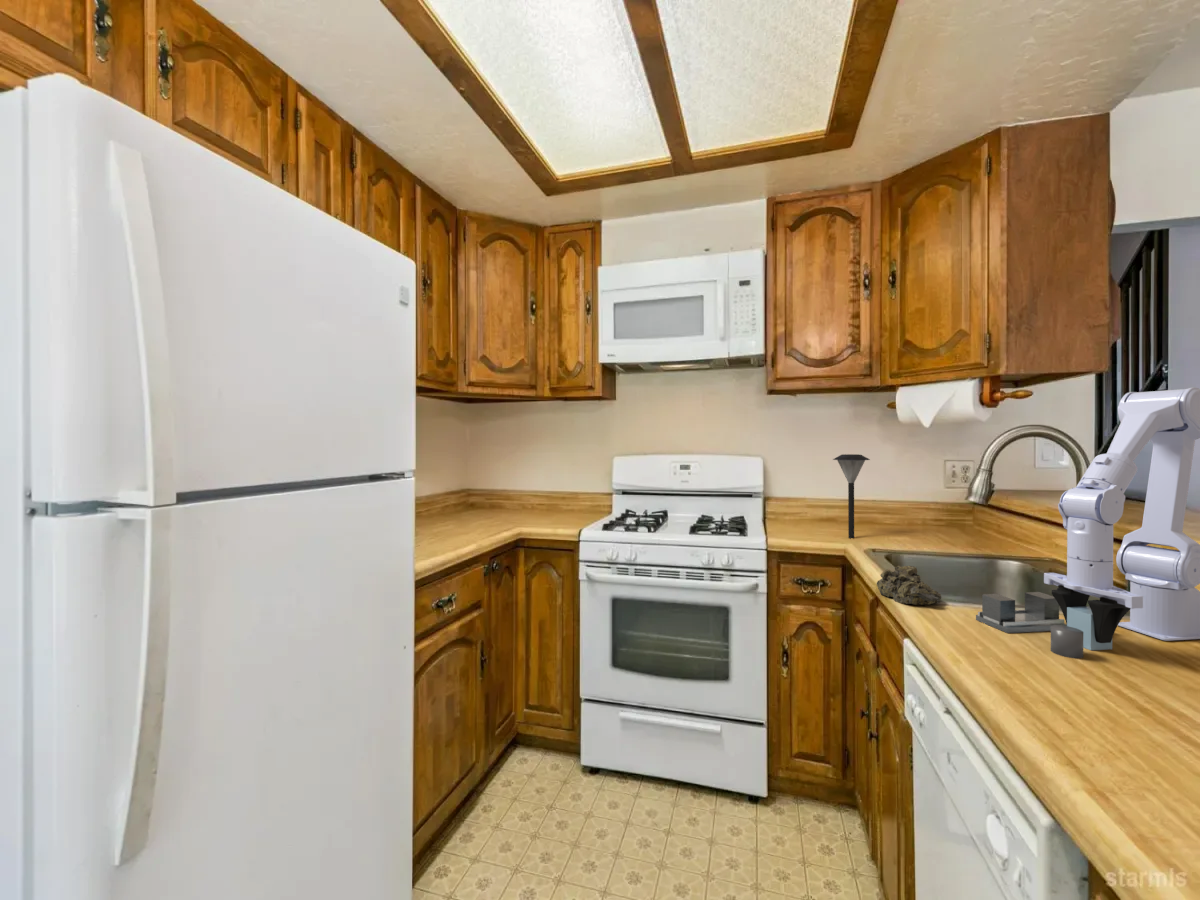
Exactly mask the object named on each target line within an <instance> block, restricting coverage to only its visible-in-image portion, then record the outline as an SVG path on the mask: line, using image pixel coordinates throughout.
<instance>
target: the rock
mask: <svg viewBox="0 0 1200 900" xmlns="http://www.w3.org/2000/svg"><path fill="white" fill-rule="evenodd" d="M918 572H919V571H918V569H917V566H913V565H903V566H901V565H897V566H894V571H892V570H890V569H889V568H888V569H885V570H883V571H882V572H881V574H879V575H880V577H881V579H879V580H877V581H876V586H877V588H878V591H879V593H880V595H881V596H884V597H885V596H886V597H887V598H892V600H894V601H895V602H896V603H898V604H904V605H905V604H906V605H908V604H909V605H913V606H917V605H921V606H922V605H932V604H937V603H940V602H941V598H942V594H941V593H939V592H938V591H937V590H934V589H932V588H931V587H930V586H929V585H928V584H927V583H925V582H924V581H921V576H920V575H919V574H918Z"/></svg>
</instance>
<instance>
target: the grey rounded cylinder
mask: <svg viewBox="0 0 1200 900" xmlns="http://www.w3.org/2000/svg"><path fill="white" fill-rule="evenodd" d="M1050 652H1052V653H1053V654H1055V655H1057V656H1060V657H1064V658H1069V659H1083V658H1084V648H1083V631H1081V630H1079V629H1076V628H1073V627H1068V626H1062V625H1053V626H1051V631H1050Z"/></svg>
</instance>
